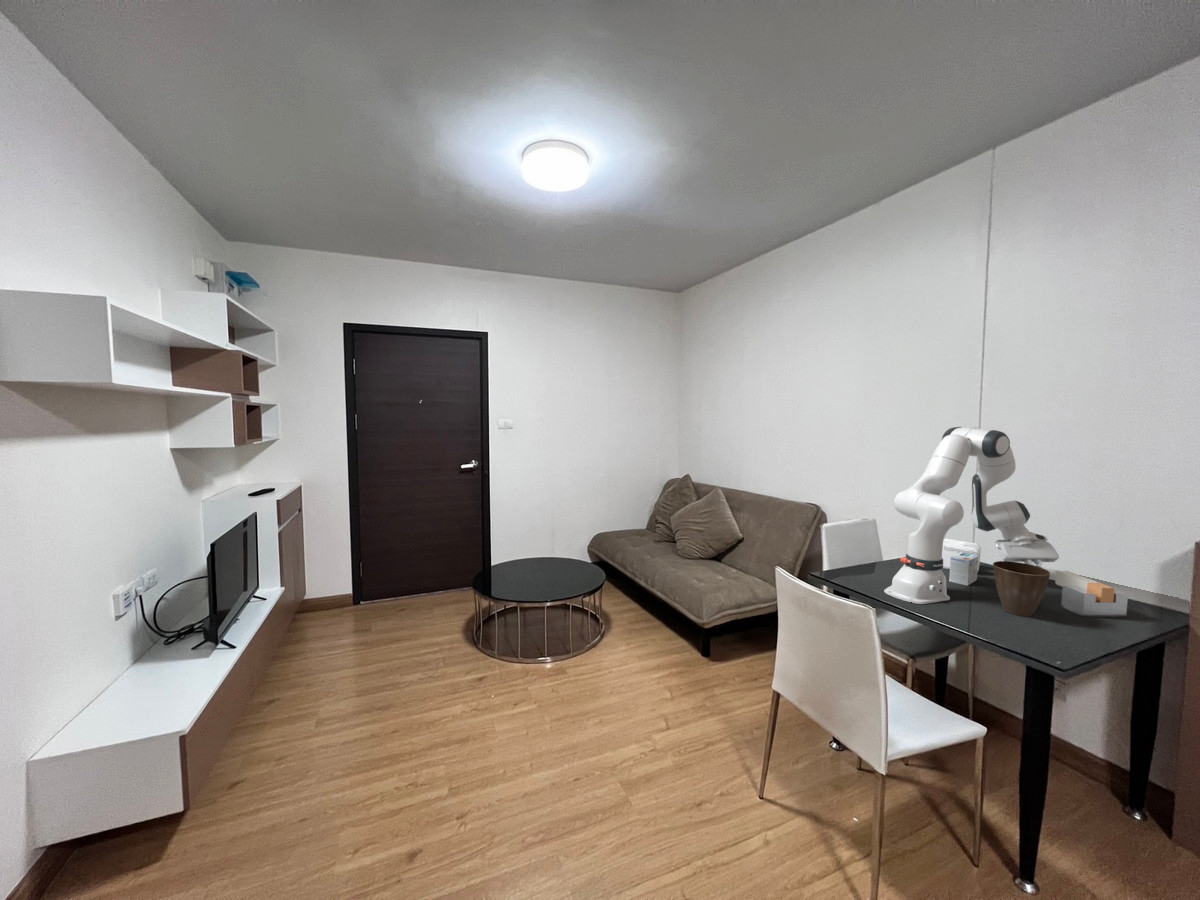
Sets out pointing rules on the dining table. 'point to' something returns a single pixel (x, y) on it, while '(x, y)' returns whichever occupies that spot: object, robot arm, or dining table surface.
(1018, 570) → the plant pot
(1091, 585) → the plug
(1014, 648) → the dining table surface
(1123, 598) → the housing
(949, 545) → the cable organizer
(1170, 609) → the dining table surface
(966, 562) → the light bulb box
